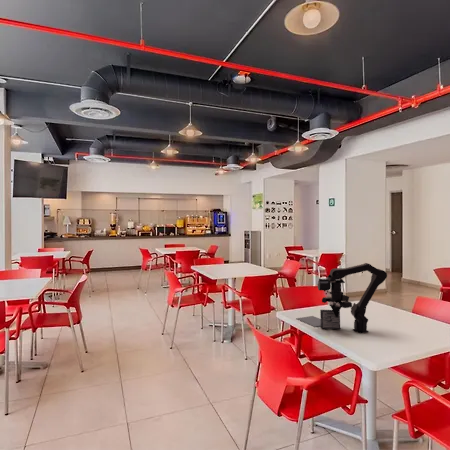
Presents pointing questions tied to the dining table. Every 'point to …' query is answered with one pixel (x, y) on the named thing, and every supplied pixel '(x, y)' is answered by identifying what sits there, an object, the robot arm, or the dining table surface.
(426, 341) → the dining table surface
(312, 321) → the mat
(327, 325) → the small box
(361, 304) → the robot arm
